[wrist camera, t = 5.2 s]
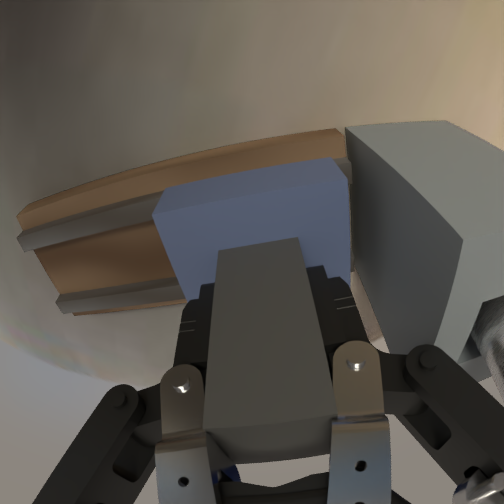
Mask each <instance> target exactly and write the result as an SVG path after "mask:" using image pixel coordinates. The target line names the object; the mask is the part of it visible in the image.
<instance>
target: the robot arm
mask: <svg viewBox="0 0 504 504" xmlns="http://www.w3.org/2000/svg"><path fill="white" fill-rule="evenodd" d="M306 271H307V275H308V279H309V283H310V287H311V291H312V296H313V300H314V304H315V308H316V313H317V317H318V321H319V326H320V330H321V335H322V339H323V344H324V348H325V353H326V357H327V362H328V367H329V372H330V377H331V381H332V386H333V391H334V396H335V401H336V406H337V412H338V418H332V431H331V445H330V460H329V472H325V473H320V474H313V475H309V476H307V477H304V478H301V479H298V480H296V481H293V482H290V483H287V484H284V485H281V486H278V487H267V486H260V485H254V484H248V483H243V482H241V479H240V475H239V472H238V469H237V467H236V465H235V462H234V461H233V460H232V459H231V458H230V457H227V456H226V455H225V454H224V452H223V451H222V450H221V449H220V448H219V446H218V444H217V442H216V440H215V439H214V438H213V436H212V435H211V434H210V433H209V432H205V431H204V430H203V429H202V428H203V413H204V399H205V386H206V373H207V361H208V350H209V339H210V328H211V317H212V307H213V297H214V287H215V282H214V283H207V284H202V285H201V287H200V293H199V299H193V300H189V302H188V303H187V305H186V306H185V308H184V309H183V312H182V318H181V324H180V329H179V332H180V333H179V334H178V340H177V346H176V352H175V358H174V364H173V367H172V368H171V369H169V370H168V371H167V372H166V373H165V374H164V376H163V377H162V379H161V382H160V383H159V384H157V385H155V386H152V387H149V388H146V389H143V390H140V391H136V390H135V389H134V388H133V387H132V386H130V385H126V384H121V385H117V386H115V387H113V388H112V389H110V390H109V391H108V392H107V393H106V394H105V396H104V397H103V399H102V400H101V402H100V403H99V404H98V406H97V407H96V409H95V410H94V411H93V413H92V414H91V416H90V417H89V419H88V420H87V422H86V423H85V424H84V426H83V427H82V429H81V430H80V432H79V433H78V435H77V436H76V438H75V439H74V441H73V442H72V444H71V445H70V447H69V448H68V450H67V451H66V453H65V454H64V456H63V457H62V459H61V460H60V462H59V463H58V465H57V466H56V468H55V469H54V471H53V472H52V474H51V475H50V477H49V478H48V480H47V482H46V483H45V485H44V486H43V488H42V489H41V491H40V493H39V494H38V495H37V497H36V499H35V500H34V502H33V503H32V504H133V503H134V502H135V500H136V498H137V497H138V495H139V493H140V492H141V490H142V488H143V487H144V485H145V483H146V482H147V480H148V478H149V477H150V475H151V473H152V472H153V470H154V468H155V467H156V477H157V488H158V499H159V504H411V503H410V502H408V501H407V500H405V499H404V498H402V497H401V496H400V495H399V494H397V493H396V492H394V491H393V490H392V489H391V448H390V428H389V421H388V418H387V417H386V416H385V414H394V415H395V416H396V417H397V418H398V420H399V421H400V422H401V423H402V424H403V425H404V426H405V427H406V429H407V430H408V431H409V432H410V433H411V434H412V435H413V436H414V437H415V439H416V440H417V441H418V442H419V443H420V444H421V445H422V447H423V448H424V449H425V450H426V451H427V452H428V453H429V454H430V455H431V457H432V458H433V459H434V460H435V461H436V462H437V463H438V464H439V466H440V467H441V468H442V469H443V470H444V471H445V472H446V473H447V475H448V476H449V477H450V478H451V479H452V480H453V481H454V482H455V483H456V485H457V488H456V489H455V491H454V494H453V504H504V407H503V406H502V405H501V404H500V403H499V402H498V401H497V400H496V399H495V398H493V396H491V395H490V394H489V393H488V392H487V391H486V390H485V389H484V388H483V387H482V386H481V385H480V384H479V383H478V382H477V381H476V380H475V379H474V378H472V377H471V376H470V375H469V374H468V373H467V372H466V371H465V370H464V369H463V368H462V367H461V366H460V365H458V364H457V363H456V362H455V361H454V360H453V359H452V358H451V357H450V356H449V355H447V354H446V353H445V352H444V351H443V350H442V349H440V348H439V347H437V346H434V345H430V344H423V345H419V346H416V347H415V348H413V349H412V350H411V351H410V352H409V353H408V355H406V354H389V353H385V352H382V351H380V350H378V349H376V348H375V347H374V346H373V345H372V344H371V343H370V342H369V340H368V337H367V335H366V332H365V329H364V326H363V323H362V320H361V317H360V314H359V312H358V309H357V306H356V303H355V301H354V298H353V295H352V292H351V290H350V287H349V285H348V284H347V283H346V282H345V281H344V280H343V279H342V278H341V277H340V276H339V277H333V278H328V277H327V274H326V271H325V268H324V266H323V265H320V266H314V267H308V268H306ZM187 485H188V486H187Z"/></svg>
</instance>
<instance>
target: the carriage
mask: <svg viewBox="0 0 504 504" xmlns="http://www.w3.org/2000/svg"><path fill="white" fill-rule="evenodd" d="M152 217H153V220H154V222H155V225H156V227H157V230H158V233H159V235H160V238H161V240H162V243H163V245H164V248H165V250H166V253H167V255H168V258H169V260H170V262H171V265H172V267H173V270H174V272H175V274H176V277H177V279H178V281H179V284H180V286H181V288H182V291H183V293H184V295H185V298H186V300H187V302H189V300H193V299H199V293H200V287H201V285H202V284H207V283H214V282H215V287H214V297H213V307H212V317H211V328H210V339H209V350H208V361H207V373H206V386H205V399H204V413H203V428H202V429H203V430H204V431H205V432H209V433H210V434H211V435H212V436H213V438H214V439H215V440H216V442H217V444H218V446H219V448H220V449H221V450H222V451H223V452H224V454H225V455H226V456H227V457H230V458H231V459H232V460H233V461H234V462H235V464H247V463H262V462H272V461H282V460H291V459H298V458H306V457H312V456H318V455H325V454H330V445H331V431H332V418H338V412H337V406H336V401H335V396H334V391H333V386H332V381H331V377H330V372H329V367H328V362H327V357H326V353H325V348H324V344H323V339H322V335H321V330H320V326H319V321H318V317H317V313H316V308H315V304H314V300H313V296H312V291H311V287H310V283H309V279H308V275H307V271H306V268H308V267H314V266H320V265H323V266H324V268H325V271H326V274H327V277H328V278H333V277H339V276H340V277H341V278H342V279H343V280H344V281H345V282H346V283H347V284H348V285H349V287H350V217H349V195H348V179H347V178H346V176H345V175H344V174H343V172H342V171H341V170H340V168H339V167H338V166H337V164H336V163H335V162H334V160H333V159H332V158H331V157H328V158H321V159H314V160H307V161H301V162H294V163H288V164H282V165H276V166H270V167H265V168H259V169H253V170H248V171H243V172H238V173H232V174H227V175H222V176H218V177H213V178H208V179H203V180H199V181H194V182H190V183H185V184H181V185H176V186H172V187H168V188H165V190H164V192H163V194H162V196H161V198H160V200H159V202H158V204H157V206H156V207H155V209H154V211H153V213H152Z"/></svg>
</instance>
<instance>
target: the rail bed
mask: <svg viewBox="0 0 504 504" xmlns="http://www.w3.org/2000/svg"><path fill="white" fill-rule="evenodd" d="M328 157H331V158H332V159H333V160H334V162H335V163H336V164H337V166H338V167H339V168H340V170H341V171H342V172H343V174H344V175H345V176H346V178H347V179H348V184H352V168H351V162H350V161H349V160H348V159H347V158H346V151H345V140H344V136H343V135H342V134H341V133H340V132H339V131H338V130H337V129H336V128H334V129H326V130H318V131H311V132H304V133H297V134H291V135H284V136H278V137H272V138H266V139H260V140H255V141H250V142H244V143H239V144H234V145H229V146H224V147H220V148H215V149H210V150H206V151H201V152H197V153H193V154H188V155H184V156H180V157H176V158H172V159H168V160H164V161H160V162H157V163H153V164H149V165H146V166H142V167H138V168H135V169H131V170H128V171H124V172H121V173H118V174H114V175H111V176H108V177H105V178H101V179H98V180H95V181H92V182H89V183H86V184H83V185H80V186H77V187H74V188H71V189H68V190H66V191H63V192H60V193H57V194H54V195H52V196H49V197H46V198H44V199H41V200H38V201H36V202H33V203H31V204H28V205H27V206H26V207H25V208H24V209H23V210H22V211H21V212H20V213H19V214H18V215H17V216H16V217H17V219H18V221H19V223H20V225H21V227H22V229H23V231H22V233H21V234H20V235H19V236H18V237H17V240H18V242H19V243H20V245H21V247H22V249H23V251H24V252H26V251H30V250H34V252H35V254H36V255H37V257H38V259H39V261H40V262H41V264H42V266H43V267H44V269H45V271H46V272H47V274H48V276H49V277H50V279H51V281H52V282H53V284H54V286H55V287H56V289H57V290H58V292H59V293H60V295H59V297H58V299H57V301H56V302H55V303H56V304H57V306H58V307H59V309H60V310H61V311H62V313H63V314H65V313H73V314H74V316H78V315H87V314H97V313H106V312H115V311H124V310H132V309H141V308H149V307H157V306H164V305H172V304H180V303H187V300H186V298H185V295H184V293H183V291H182V288H181V286H180V284H179V281H178V279H177V277H176V274H175V272H174V270H173V267H172V265H171V262H170V260H169V258H168V255H167V253H166V250H165V248H164V245H163V243H162V240H161V238H160V235H159V233H158V230H157V227H156V225H155V222H154V220H153V217H152V213H153V211H154V209H155V207H156V206H157V204H158V202H159V200H160V198H161V196H162V194H163V192H164V190H165V188H168V187H172V186H176V185H181V184H185V183H190V182H194V181H199V180H203V179H208V178H213V177H218V176H222V175H227V174H232V173H238V172H243V171H248V170H253V169H259V168H265V167H270V166H276V165H282V164H288V163H294V162H301V161H307V160H314V159H321V158H328ZM353 271H354V254H353V252H352V250H351V248H350V272H353Z"/></svg>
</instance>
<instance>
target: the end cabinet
mask: <svg viewBox="0 0 504 504" xmlns="http://www.w3.org/2000/svg"><path fill="white" fill-rule="evenodd" d="M345 131H346V141H347V153H348V160H349V161H350V162H351V168H352V184H350V202H351V232H352V252H353V254H354V265H355V267H356V270H357V272H358V274H359V276H360V279H361V281H362V284H363V286H364V288H365V291H366V293H367V296H368V298H369V300H370V303H371V305H372V308H373V310H374V313H375V315H376V318H377V320H378V323H379V325H380V328H381V331H382V333H383V336H384V338H385V341H386V344H387V346H388V349H389V352H390V354H406V355H408V353H409V352H410V351H411V350H412V349H413V348H415V347H416V346H419V345H423V344H430V345H434V346H437V347H439V348H440V349H442V350H443V351H444V352H445V353H446V354H447V355H449V356H450V357H451V358H452V359H453V360H454V361H455V362H456V363H457V364H458V365H460V366H461V367H462V368H463V369H464V370H465V371H466V372H467V373H468V374H469V375H470V376H471V377H472V378H474V379H475V380H476V381H477V382H479V381H482V380H484V379H486V378H489V377H491V376H492V375H491V373H490V371H489V369H488V367H487V365H486V363H485V361H484V359H483V357H482V355H481V354H480V352H479V350H478V348H477V346H476V344H475V342H474V340H473V339H472V337H471V335H470V332H471V330H472V328H473V325H474V323H475V320H476V318H477V316H478V313H479V310H480V308H481V305H482V303H483V302H485V301H488V300H491V299H494V298H497V297H500V296H503V295H504V151H502V150H501V149H499V148H497V147H496V146H494V145H492V144H490V143H489V142H487V141H485V140H483V139H481V138H480V137H478V136H476V135H474V134H472V133H470V132H468V131H466V130H464V129H462V128H460V127H458V126H456V125H454V124H452V123H450V122H448V121H421V122H401V123H386V124H374V125H363V126H353V127H345Z"/></svg>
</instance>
